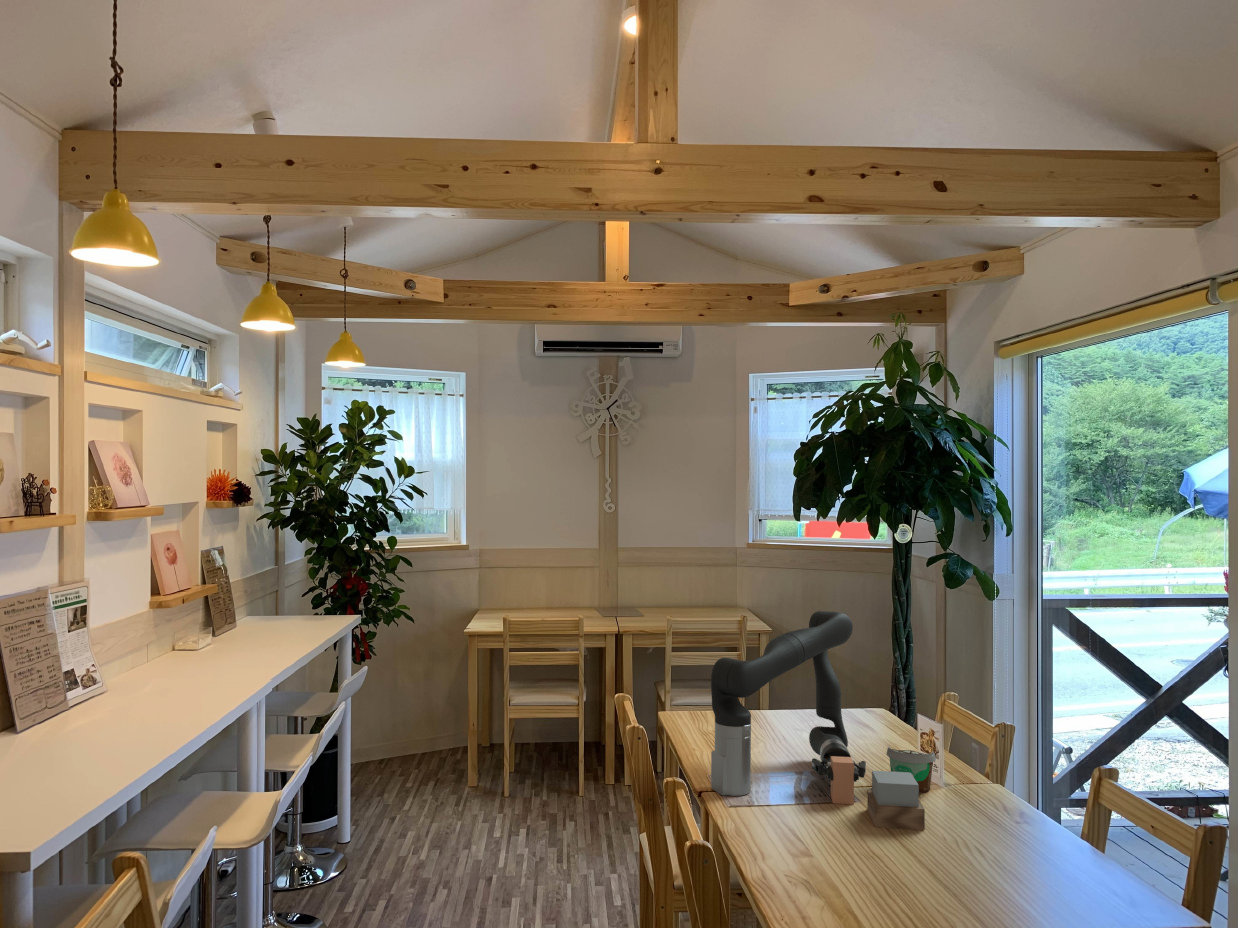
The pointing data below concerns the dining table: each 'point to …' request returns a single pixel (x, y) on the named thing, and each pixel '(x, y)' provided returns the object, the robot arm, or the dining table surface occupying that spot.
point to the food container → (913, 765)
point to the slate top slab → (895, 788)
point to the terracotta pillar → (842, 780)
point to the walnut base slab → (895, 815)
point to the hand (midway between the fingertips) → (843, 776)
